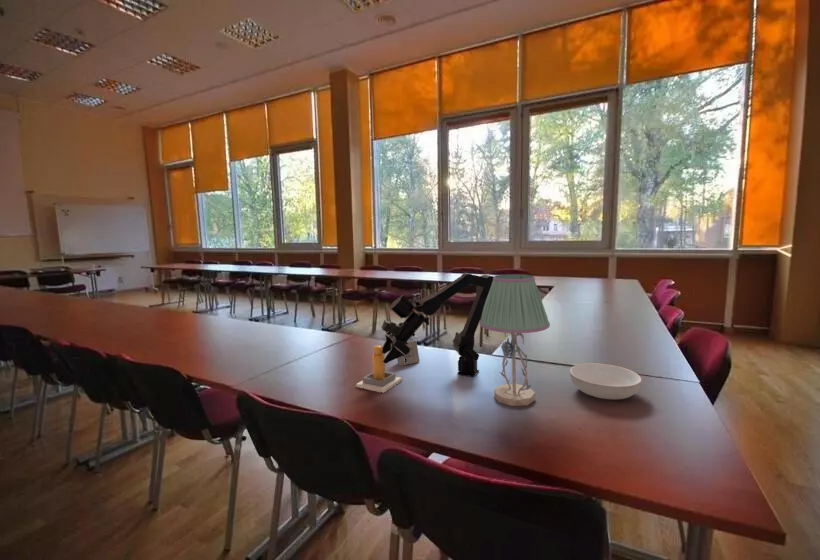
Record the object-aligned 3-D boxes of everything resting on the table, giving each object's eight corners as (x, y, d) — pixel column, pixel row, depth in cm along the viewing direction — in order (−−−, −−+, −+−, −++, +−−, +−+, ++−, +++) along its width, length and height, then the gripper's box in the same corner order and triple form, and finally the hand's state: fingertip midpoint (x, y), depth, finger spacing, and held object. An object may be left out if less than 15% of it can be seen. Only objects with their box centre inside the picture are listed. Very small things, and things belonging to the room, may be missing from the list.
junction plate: (402, 380, 145) (401, 372, 145) (383, 393, 135) (383, 384, 135) (376, 375, 151) (375, 367, 151) (356, 387, 141) (356, 378, 141)
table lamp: (468, 391, 133) (466, 275, 128) (520, 380, 141) (520, 271, 136) (506, 418, 113) (505, 283, 108) (564, 404, 121) (566, 276, 116)
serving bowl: (641, 413, 114) (642, 390, 113) (565, 400, 124) (565, 379, 123) (640, 387, 132) (640, 367, 131) (573, 377, 142) (573, 359, 141)
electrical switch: (399, 366, 161) (398, 344, 160) (394, 364, 165) (393, 342, 165) (420, 362, 165) (418, 341, 164) (414, 360, 169) (413, 339, 169)
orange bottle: (387, 381, 143) (386, 346, 141) (377, 384, 140) (376, 349, 138) (381, 377, 146) (379, 344, 144) (371, 380, 143) (369, 346, 142)
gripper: (389, 307, 150) (362, 338, 149) (399, 317, 132) (368, 352, 131) (410, 325, 153) (384, 355, 152) (422, 337, 135) (392, 372, 134)
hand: (382, 358), depth 142 cm, fingers open, 9 cm apart
